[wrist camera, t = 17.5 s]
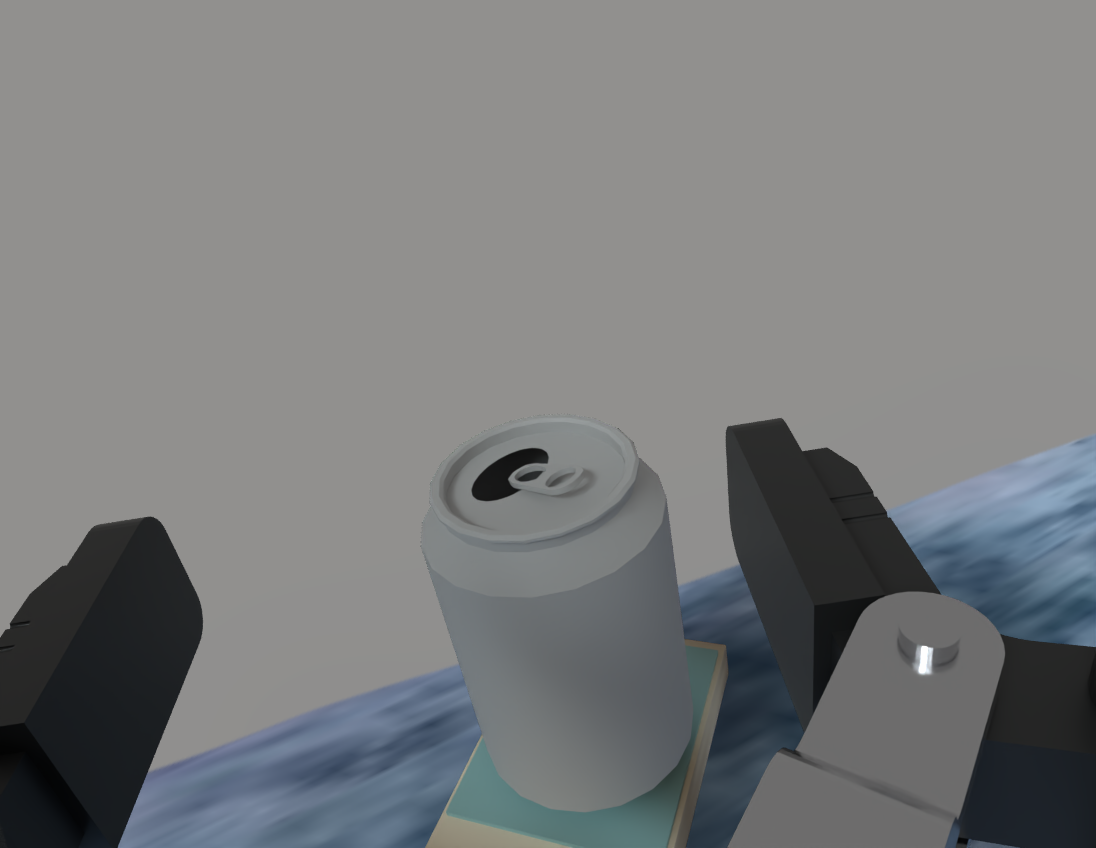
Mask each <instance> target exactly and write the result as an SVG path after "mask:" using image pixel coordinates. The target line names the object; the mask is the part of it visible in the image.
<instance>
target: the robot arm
mask: <svg viewBox="0 0 1096 848" xmlns="http://www.w3.org/2000/svg"><path fill="white" fill-rule="evenodd" d="M726 455H727V475H728V494H729V514H730V524H731V531H732V536H733V541H734V546H735V550H736V554H737V557H738V560H739V563H740V566H741V568H742V571H743V573H744V576H745V579H746V581H747V584H748V587H749V589H750V592H751V594H752V597H753V600H754V602H755V605H756V608H757V610H758V613H759V615H760V618H761V621H762V623H763V626H764V629H765V631H766V634H767V636H768V639H769V642H770V644H771V647H772V649H773V652H774V655H775V657H776V660H777V663H778V665H779V668H780V670H781V673H782V676H783V678H784V681H785V684H786V686H787V689H788V691H789V694H790V697H791V699H792V702H793V705H794V707H795V710H796V712H797V715H798V718H799V720H800V723H801V726H802V728H803V731H804V735H803V737H802V739H801V741H800V743H799V745H798V747H797V748H796V749H795V750H794V751H792V750H790V749H787V748H782V749H780V750H779V751H778V752H777V753H776V754H775V756H774V757H773V758H772V760H771V762H770V763H769V765H768V767H767V769H766V770H765V772H764V774H763V776H762V778H761V780H760V782H759V785H758V787H757V789H756V791H755V793H754V795H753V797H752V799H751V801H750V803H749V805H748V807H747V809H746V811H745V813H744V815H743V817H742V819H741V821H740V823H739V825H738V827H737V829H736V831H735V833H734V835H733V837H732V839H731V841H730V843H729V845H728V847H727V848H969V846H970V842H971V839H972V840H978V841H984V842H990V843H996V844H1002V845H1008V846H1014V847H1020V848H1096V647H1088V646H1078V645H1067V644H1057V643H1047V642H1036V641H1029V640H1022V639H1017V638H1013V637H1009V636H1004V635H1002V634H999V632H998V631H997V629H996V627H995V626H994V625H993V624H992V623H991V622H990V621H989V620H988V619H987V618H986V617H985V616H984V615H983V614H981V613H980V612H979V611H977V610H976V609H974V608H972V607H971V606H969V605H967V604H965V603H963V602H961V601H959V600H957V599H954V598H951V597H948V596H944V595H941V594H940V592H939V590H938V589H937V587H936V586H935V584H934V583H933V581H932V580H931V578H930V577H929V575H928V574H927V572H926V571H925V569H924V568H923V566H922V565H921V563H920V562H919V560H918V559H917V557H916V556H915V554H914V553H913V551H912V550H911V548H910V547H909V545H908V543H907V542H906V540H905V539H904V537H903V536H902V534H901V533H900V531H899V530H898V528H897V527H896V525H895V524H894V522H893V521H892V519H891V518H888V517H887V512H886V510H885V509H884V507H883V506H882V504H881V503H880V501H879V500H878V498H877V497H874V494H873V491H872V489H871V487H870V486H869V485H868V483H867V481H866V480H865V478H864V477H863V475H862V474H861V472H860V471H859V469H858V468H857V466H855V465H853V464H852V463H850V462H849V461H847V460H846V459H844V458H843V457H841V456H839V455H838V454H836V453H835V452H833V451H832V450H830V449H828V448H821V449H815V450H808V451H802V450H801V448H800V447H799V445H798V443H797V441H796V440H795V438H794V436H793V435H792V433H791V431H790V429H789V428H788V426H787V424H786V423H785V421H784V420H783V419H782V418H778V419H772V420H765V421H759V422H753V423H747V424H740V425H734V426H728V427H727V430H726ZM202 629H203V617H202V609H201V604H200V601H199V598H198V596H197V593H196V591H195V589H194V587H193V585H192V583H191V581H190V579H189V577H188V575H187V573H186V571H185V569H184V567H183V565H182V563H181V561H180V559H179V557H178V555H177V552H176V550H175V549H174V546H173V544H172V542H171V540H170V538H169V536H168V534H167V532H166V530H165V528H164V526H163V525H162V524H161V522H160V521H158V520H157V519H155V518H154V517H144V518H138V519H131V520H125V521H119V522H112V523H106V524H100V525H96V526H94V527H93V528H92V529H91V530H90V531H89V532H88V534H87V535H86V537H85V539H84V540H83V542H82V543H81V545H80V546H79V548H78V549H77V551H76V552H75V554H74V556H73V557H72V559H71V560H70V562H69V563H68V565H67V566H62V567H60V568H59V569H58V570H57V571H56V572H55V573H54V574H52V575H51V576H50V577H49V578H48V579H47V580H46V581H44V582H43V583H42V584H41V585H40V586H39V587H37V588H36V589H35V590H34V591H33V592H32V593H31V594H30V595H29V596H28V598H27V599H26V601H25V602H24V603H23V605H22V607H21V608H20V609H19V611H18V612H17V614H16V615H15V617H14V618H13V620H12V621H11V623H10V629H7V630H5V631H4V633H3V634H2V636H1V637H0V848H117V847H118V845H119V842H120V840H121V837H122V835H123V832H124V830H125V827H126V825H127V822H128V820H129V817H130V815H131V813H132V810H133V808H134V805H135V803H136V800H137V798H138V795H139V793H140V790H141V788H142V785H143V783H144V780H145V778H146V775H147V773H148V770H149V768H150V765H151V763H152V760H153V758H154V755H155V753H156V750H157V747H158V745H159V743H160V740H161V738H162V735H163V733H164V730H165V728H166V725H167V723H168V720H169V718H170V715H171V713H172V710H173V708H174V705H175V703H176V700H177V698H178V695H179V693H180V690H181V688H182V685H183V683H184V680H185V678H186V675H187V673H188V670H189V668H190V665H191V663H192V660H193V658H194V655H195V653H196V650H197V648H198V645H199V643H200V640H201V635H202Z"/></svg>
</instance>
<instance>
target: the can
mask: <svg viewBox="0 0 1096 848" xmlns="http://www.w3.org/2000/svg"><path fill="white" fill-rule="evenodd" d="M430 505H431V507H430V508H429V510H428V512H427V514H426V516H425V518H424V520H423V522H422V535H421V548H422V551H423V554H424V557H425V560H426V564H427V567H428V570H429V573H430V576H431V579H432V582H433V585H434V588H435V591H436V594H437V597H438V600H439V603H440V606H441V609H442V613H443V616H444V618H445V622H446V625H447V628H448V631H449V634H450V637H451V640H452V643H453V646H454V649H455V652H456V655H457V658H458V662H459V665H460V668H461V671H462V674H463V677H464V680H465V683H466V686H467V689H468V692H469V695H470V698H471V701H472V705H473V708H474V711H475V714H476V717H477V720H478V723H479V726H480V729H481V732H482V735H483V738H484V741H485V744H486V747H487V750H488V753H489V755H490V757H491V759H492V761H493V764H494V766H495V768H496V770H497V773H498V775H499V776H500V777H501V778H502V779H503V780H504V781H505V782H506V783H507V784H508V785H509V786H510V787H511V788H513V789H514V790H515V791H516V792H517V793H518V794H519V795H520V796H522V797H524V798H526V799H528V800H531V801H533V802H535V803H538V804H540V805H542V806H544V807H547V808H549V809H555V810H565V811H575V812H591V811H596V810H601V809H606V808H611V807H616V806H621V805H623V804H625V803H627V802H629V801H631V800H633V799H635V798H637V797H639V796H641V795H643V794H645V793H646V792H648V791H650V790H652V789H654V788H655V787H656V786H657V785H658V784H659V783H660V782H661V781H662V780H663V779H664V778H665V777H666V776H667V775H668V774H669V773H670V772H671V771H672V770H673V769H674V768H675V767H676V766H677V765H678V763H679V761H680V759H681V757H682V755H683V753H684V751H685V749H686V747H687V745H688V742H689V740H690V738H691V730H692V720H693V702H692V695H691V687H690V679H689V671H688V663H687V655H686V648H685V640H684V632H683V624H682V616H681V609H680V601H679V593H678V585H677V577H676V569H675V562H674V554H673V546H672V539H671V530H670V523H669V515H668V507H667V499H666V495H665V493H664V490H663V487H662V484H661V482H660V479H659V476H658V475H657V474H656V473H655V472H654V471H653V470H652V469H651V468H650V467H649V466H648V465H647V464H646V463H645V462H644V461H642V460H641V459H640V458H639V457H638V454H637V451H636V448H635V446H634V442H632V441H631V440H630V439H629V438H628V437H627V436H626V435H625V434H624V433H623V432H622V431H621V430H620V429H619V428H616V427H614V426H611V425H609V424H607V423H604V422H602V421H600V420H597V419H595V418H589V417H583V416H576V415H570V414H558V415H538V416H533V417H528V418H523V419H518V420H513V421H509V422H507V423H504V424H501V425H499V426H496V427H493V428H491V429H488V430H485V431H483V432H481V433H480V434H478V435H476V436H475V437H473V438H471V439H470V440H468V441H466V442H465V443H463V444H461V445H460V446H459V447H458V448H457V449H456V450H455V451H454V452H452V453H451V454H450V455H449V456H448V457H447V458H446V459H445V460H444V461H443V462H442V463H441V464H440V466H439V468H438V470H437V472H436V474H435V475H434V477H433V479H432V481H431V483H430Z"/></svg>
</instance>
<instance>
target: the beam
mask: <svg viewBox="0 0 1096 848" xmlns="http://www.w3.org/2000/svg"><path fill="white" fill-rule="evenodd" d="M684 640H685V648H686V655H687V663H688V671H689V679H690V687H691V695H692V702H693V720H692V730H691V738H690V740H689V742H688V745H687V747H686V749H685V751H684V753H683V755H682V757H681V759H680V761H679V763H678V765H677V766H676V767H675V768H674V769H673V770H672V771H671V772H670V773H669V774H668V775H667V776H666V777H665V778H664V779H663V780H662V781H661V782H660V783H659V784H658V785H657V786H656V787H655V788H654V789H652V790H650V791H648V792H646V793H645V794H643V795H641V796H639V797H637V798H635V799H633V800H631V801H629V802H627V803H625V804H623V805H621V806H616V807H611V808H606V809H601V810H596V811H591V812H575V811H565V810H555V809H549V808H547V807H544V806H542V805H540V804H538V803H535V802H533V801H531V800H528V799H526V798H524V797H522V796H520V795H519V794H518V793H517V792H516V791H515V790H514V789H513V788H511V787H510V786H509V785H508V784H507V783H506V782H505V781H504V780H503V779H502V778H501V777H500V776H499V775H498V773H497V770H496V768H495V766H494V764H493V761H492V759H491V757H490V755H489V753H488V750H487V747H486V744H485V741H484V738H483V735H481V737H480V739H479V741H478V743H477V745H476V747H475V749H474V751H473V753H472V755H471V757H470V759H469V761H468V763H467V765H466V767H465V769H464V771H463V773H462V775H461V777H460V779H459V781H458V783H457V785H456V787H455V789H454V791H453V793H452V795H451V797H450V799H449V801H448V803H447V805H446V807H445V809H444V811H443V813H442V815H441V817H440V819H439V821H438V823H437V825H436V827H435V829H434V831H433V833H432V835H431V837H430V839H429V841H428V843H427V845H426V847H425V848H686V844H687V840H688V836H689V832H690V828H691V824H692V820H693V816H694V812H695V808H696V804H697V799H698V795H699V791H700V787H701V783H702V779H703V775H704V771H705V767H706V763H707V759H708V755H709V750H710V746H711V742H712V738H713V734H714V730H715V726H716V722H717V718H718V714H719V710H720V706H721V702H722V697H723V693H724V689H725V685H726V681H727V677H728V663H727V652H726V645H722V644H715V643H708V642H701V641H694V640H688V639H684Z"/></svg>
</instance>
